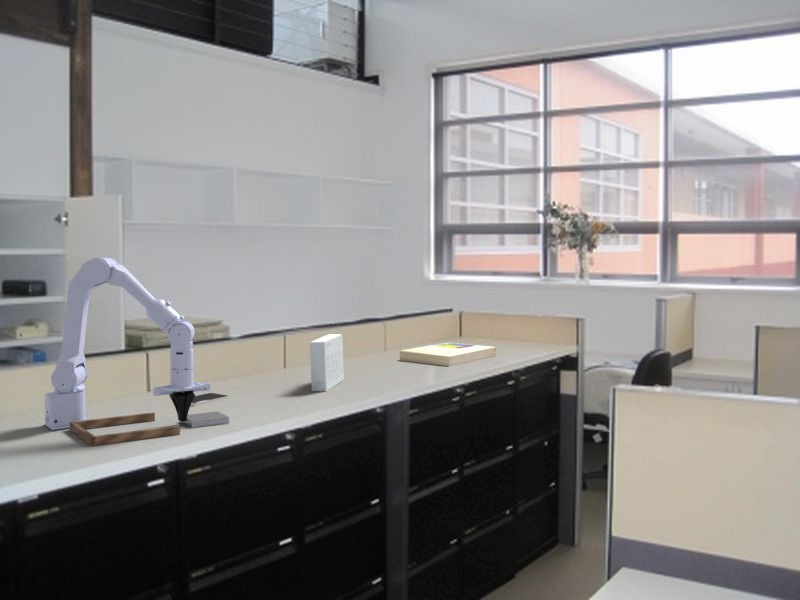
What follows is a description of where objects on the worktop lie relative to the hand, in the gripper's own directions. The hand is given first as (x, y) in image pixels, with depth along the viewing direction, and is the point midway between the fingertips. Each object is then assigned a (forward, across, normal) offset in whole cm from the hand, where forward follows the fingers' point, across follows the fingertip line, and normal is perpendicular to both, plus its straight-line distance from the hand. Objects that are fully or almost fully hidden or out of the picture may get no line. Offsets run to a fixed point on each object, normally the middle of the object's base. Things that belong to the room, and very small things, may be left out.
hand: (182, 420), depth 212 cm
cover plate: (+1, +6, 0) cm, 6 cm away
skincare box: (+1, +60, +29) cm, 67 cm away
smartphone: (+2, +16, +27) cm, 32 cm away
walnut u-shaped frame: (+1, -15, 0) cm, 15 cm away
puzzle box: (+2, +133, +56) cm, 145 cm away
